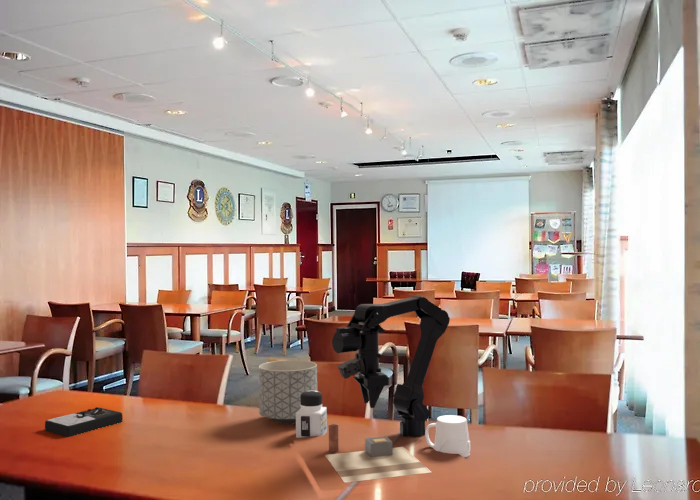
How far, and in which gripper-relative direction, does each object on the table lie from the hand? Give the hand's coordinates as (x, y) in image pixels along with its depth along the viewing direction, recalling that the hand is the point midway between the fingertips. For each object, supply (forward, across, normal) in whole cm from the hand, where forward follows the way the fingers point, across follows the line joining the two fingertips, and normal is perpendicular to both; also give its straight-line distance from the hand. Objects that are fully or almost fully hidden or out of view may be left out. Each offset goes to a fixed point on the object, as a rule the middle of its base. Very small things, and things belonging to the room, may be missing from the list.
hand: (369, 405), depth 167 cm
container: (+12, -17, -13) cm, 25 cm away
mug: (+12, +10, +19) cm, 25 cm away
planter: (+12, -35, -17) cm, 41 cm away
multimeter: (+13, -49, -81) cm, 95 cm away
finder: (+11, +8, 0) cm, 13 cm away
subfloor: (+12, +15, -3) cm, 19 cm away
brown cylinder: (+12, +3, -11) cm, 16 cm away
